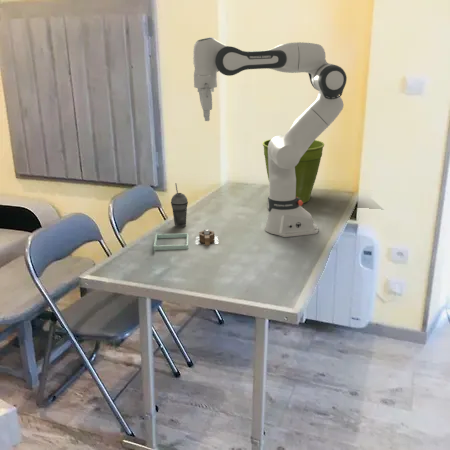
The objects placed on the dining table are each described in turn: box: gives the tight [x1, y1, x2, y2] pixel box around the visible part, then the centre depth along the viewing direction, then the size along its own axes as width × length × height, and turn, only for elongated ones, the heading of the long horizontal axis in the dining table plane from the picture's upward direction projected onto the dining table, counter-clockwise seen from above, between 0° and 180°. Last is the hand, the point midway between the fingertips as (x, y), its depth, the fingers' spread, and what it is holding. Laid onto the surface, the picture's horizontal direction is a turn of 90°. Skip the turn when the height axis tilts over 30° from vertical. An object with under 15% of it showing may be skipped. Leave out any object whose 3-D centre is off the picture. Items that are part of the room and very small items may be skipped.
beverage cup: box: [170, 182, 189, 229], centre depth 223 cm, size 7×7×20 cm
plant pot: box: [262, 138, 325, 204], centre depth 259 cm, size 30×30×29 cm
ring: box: [198, 229, 216, 246], centre depth 208 cm, size 9×6×3 cm
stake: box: [195, 228, 219, 246], centre depth 209 cm, size 9×9×5 cm
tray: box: [153, 232, 190, 253], centre depth 207 cm, size 13×13×2 cm
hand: (206, 119), depth 205 cm, fingers open, 8 cm apart
